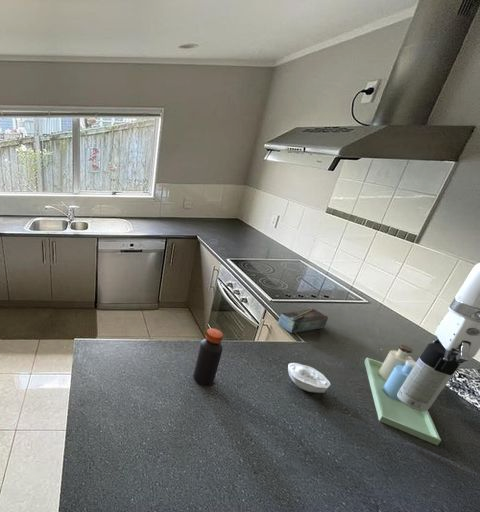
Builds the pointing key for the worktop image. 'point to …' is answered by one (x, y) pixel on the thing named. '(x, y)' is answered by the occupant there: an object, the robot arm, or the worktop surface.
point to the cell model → (308, 378)
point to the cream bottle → (394, 361)
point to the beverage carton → (302, 320)
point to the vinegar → (208, 358)
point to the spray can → (425, 379)
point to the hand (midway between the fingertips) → (437, 363)
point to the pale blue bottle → (397, 379)
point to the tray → (399, 409)
